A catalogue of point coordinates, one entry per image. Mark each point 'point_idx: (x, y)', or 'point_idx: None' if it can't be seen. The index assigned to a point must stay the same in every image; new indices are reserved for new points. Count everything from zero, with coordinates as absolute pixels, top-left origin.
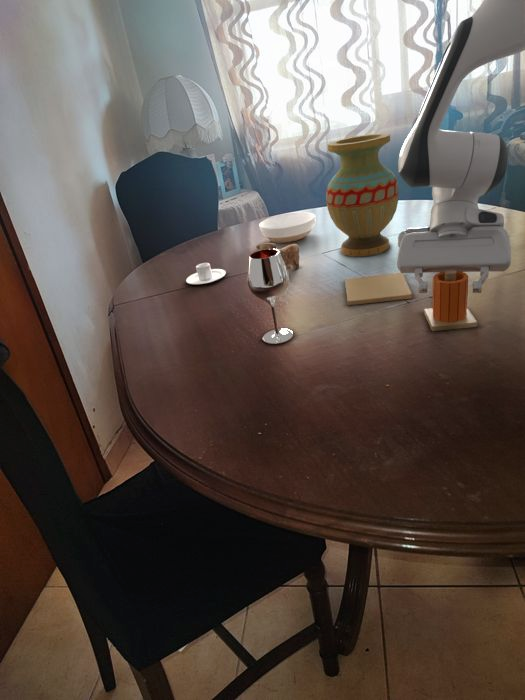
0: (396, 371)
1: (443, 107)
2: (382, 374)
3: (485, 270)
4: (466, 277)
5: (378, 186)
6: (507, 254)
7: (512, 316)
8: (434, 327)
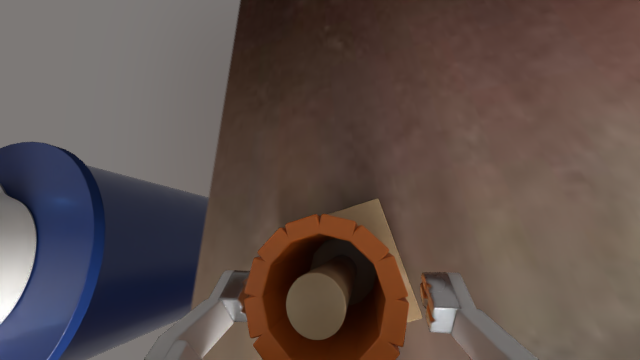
0: (417, 34)
1: None
2: (441, 19)
3: (164, 346)
4: (251, 281)
5: None
6: None
7: (206, 293)
8: (372, 200)
